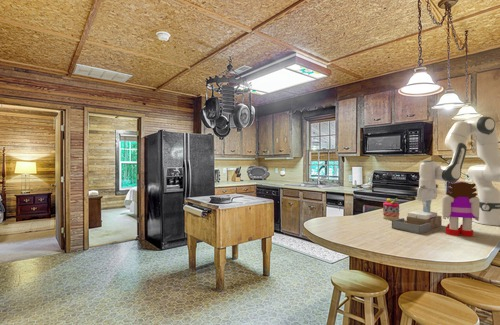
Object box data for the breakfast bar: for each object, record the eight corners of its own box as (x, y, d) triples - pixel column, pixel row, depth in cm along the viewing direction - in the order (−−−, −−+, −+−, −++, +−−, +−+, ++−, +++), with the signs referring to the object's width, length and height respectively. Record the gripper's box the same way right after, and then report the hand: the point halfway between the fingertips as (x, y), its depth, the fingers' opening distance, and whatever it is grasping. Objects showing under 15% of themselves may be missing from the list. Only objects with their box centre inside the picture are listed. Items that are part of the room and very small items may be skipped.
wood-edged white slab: (421, 221, 187) (421, 213, 187) (441, 225, 177) (441, 216, 177) (406, 225, 175) (406, 216, 175) (427, 229, 165) (427, 219, 165)
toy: (474, 233, 157) (474, 181, 157) (482, 237, 149) (483, 182, 148) (438, 231, 162) (438, 180, 162) (444, 235, 153) (444, 181, 153)
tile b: (411, 215, 177) (411, 211, 177) (419, 217, 173) (419, 213, 173) (407, 216, 175) (407, 212, 174) (416, 217, 170) (416, 213, 170)
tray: (403, 225, 177) (403, 217, 177) (430, 230, 164) (431, 222, 164) (391, 228, 169) (391, 220, 169) (419, 233, 156) (419, 225, 156)
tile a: (420, 217, 173) (420, 213, 173) (429, 218, 169) (429, 214, 169) (417, 218, 170) (417, 214, 170) (425, 219, 166) (425, 215, 166)
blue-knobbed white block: (418, 213, 184) (418, 199, 183) (437, 215, 175) (437, 201, 174) (410, 214, 178) (411, 201, 178) (429, 217, 169) (429, 203, 168)
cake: (382, 219, 195) (382, 198, 194) (383, 216, 204) (383, 196, 204) (399, 220, 189) (399, 199, 189) (399, 218, 199) (399, 197, 199)
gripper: (424, 186, 170) (424, 209, 170) (439, 185, 181) (439, 206, 181) (414, 185, 175) (413, 207, 175) (428, 184, 186) (428, 204, 186)
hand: (426, 206), depth 178 cm, fingers closed on blue-knobbed white block, 3 cm apart
